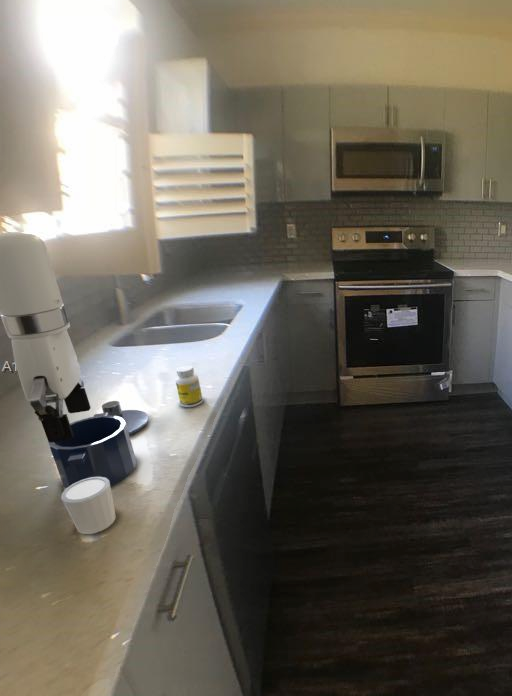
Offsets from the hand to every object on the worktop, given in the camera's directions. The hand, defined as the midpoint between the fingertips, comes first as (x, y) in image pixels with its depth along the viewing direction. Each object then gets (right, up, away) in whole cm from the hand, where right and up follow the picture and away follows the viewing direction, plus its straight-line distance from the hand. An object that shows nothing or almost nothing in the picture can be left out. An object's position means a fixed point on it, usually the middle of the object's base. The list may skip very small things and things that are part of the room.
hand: (71, 424), depth 73 cm
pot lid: (-13, -4, +34) cm, 37 cm away
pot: (-6, -12, +18) cm, 22 cm away
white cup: (+1, -17, +5) cm, 18 cm away
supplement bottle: (0, 0, +46) cm, 46 cm away
